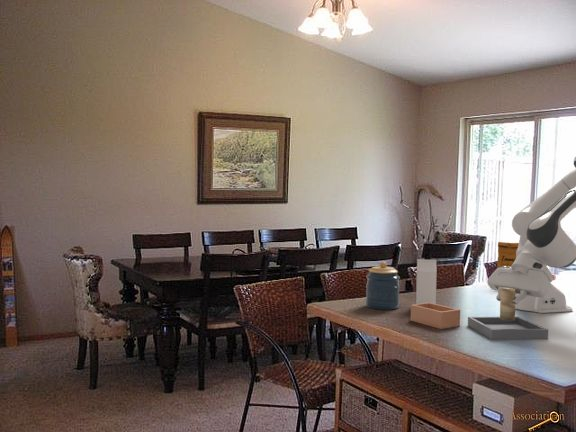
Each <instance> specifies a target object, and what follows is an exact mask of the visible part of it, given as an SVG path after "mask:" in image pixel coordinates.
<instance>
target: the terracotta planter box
mask: <svg viewBox="0 0 576 432" xmlns="http://www.w3.org/2000/svg"><path fill="white" fill-rule="evenodd" d="M410 321H411V322H413V323H414V322H415V323H419V324H422V325H426V326H429V327H433V328H436V329H439V330H440V329H441V330H443V329H450V328H455V327H460V326H461V309H459V308H455V307H450V306H447V305H442V304H438V303H436V304H434V303H421V304H416V303H415V304H410Z"/></svg>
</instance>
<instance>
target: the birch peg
mask: <svg viewBox="0 0 576 432" xmlns="http://www.w3.org/2000/svg"><path fill="white" fill-rule="evenodd" d="M515 290H516V289H515V288H508V287H502V288H501V290H500V301H499V303H500V305H499V306H500V307H499V317H500V319H501V320H505V321H514V320H515V317H516V309H515V304H513V302H512V299H513V298H514V297H515Z"/></svg>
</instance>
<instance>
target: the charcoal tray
mask: <svg viewBox="0 0 576 432" xmlns="http://www.w3.org/2000/svg"><path fill="white" fill-rule="evenodd" d="M467 327H469V328H471V329H473V330H474V331H475V332H478V333H480V334H481V335H483V336H485V337H487V338H489V340H492V341H494V340H501V341H502V340H548V339H549V329H548V328H545V327H543V326H541V325H539V324H537V323H534V322H532V321H530V320H528V319H525V318H523V317H521V316H515V320H514V321H505V320H501V319H500V316H468V317H467Z"/></svg>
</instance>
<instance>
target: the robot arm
mask: <svg viewBox="0 0 576 432" xmlns="http://www.w3.org/2000/svg"><path fill="white" fill-rule="evenodd" d="M573 166H574V169H573V170H572V171H570V172H568V173H567V174H566V175H565V176H563V178H561V179H560V180H559V181H557V183H555V184H554V185H553V186H552V187H550V189H548V190H547V191H546V192H545V193H543V194H541V195H539V197H537V198H536V199H535V200H532V202H531V203H529V204H527V205H526V206H525V207H523V208H522V209H521V210H520V211H519V212H517V213H516V214H515V215H514V216H513V219H512V220H511V227H512V229H513V231H514V232H515V233H516V234H517V235H518V236H519V241H518V243H519V245H518V248H517V251H516V259H515V261H514V263H513V264H512V266H511V267H506V266H502V267H500V268H498V267H497V268H496V269H495V270H494V271H493V272H492V274H491V275H490V276H489V277H488V279H487V280H486V283H487V285H488V286H489V288H490V289H491V290H495V291H497V295H496V300H497V301H498V302H500V290H501V288H502V287H508V288H515V289H516V290H515V297H514V298H513V299H512V302H513V304H515V310H521V311H527V312H535V313H539V314H542V313H543V314H545V313H546V314H548V313H549V314H550V313H565V312H573V307H571V306H569V305H567V300H566V295H565V294H564V293H563V292H562V291H561V290H560V289H558V288H557V287H556V286H555V285H554V284H553V283H552V282H553V281H555V280H556V279H557V277H556V275H555V274H552V272H551V271H550V269H549V268H555V269H566V268H569V267H570V266H572V265H573V264H574V263H575V262H576V243H575V242H574V241H573V240H572V239H571V238H570V236H568V234H567V233H566V231H565V230H564V229H563V228H562V225H561V224H562V223H561V222H562V220H563V219H564V218H565V217H566V216H567V215H568V214H570V213H571V211H573V210H574V209H576V156H575V157H574V159H573ZM547 266H548V267H549V268H548V267H547Z"/></svg>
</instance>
